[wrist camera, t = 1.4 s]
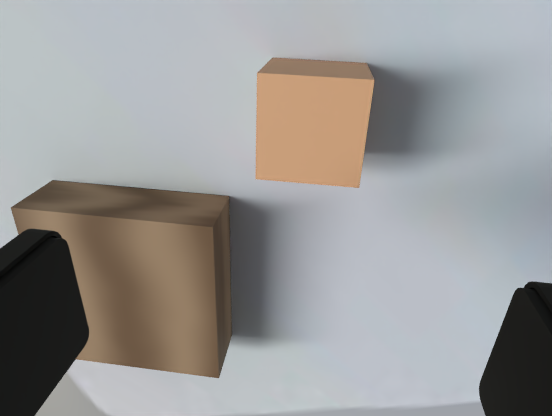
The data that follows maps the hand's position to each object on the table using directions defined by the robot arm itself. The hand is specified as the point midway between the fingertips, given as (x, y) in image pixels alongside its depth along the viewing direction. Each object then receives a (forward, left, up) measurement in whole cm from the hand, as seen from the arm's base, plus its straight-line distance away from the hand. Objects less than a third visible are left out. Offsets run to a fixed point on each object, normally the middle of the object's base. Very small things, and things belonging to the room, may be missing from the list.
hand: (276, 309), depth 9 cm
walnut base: (+11, +12, -16) cm, 23 cm away
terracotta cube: (0, 0, -16) cm, 16 cm away
